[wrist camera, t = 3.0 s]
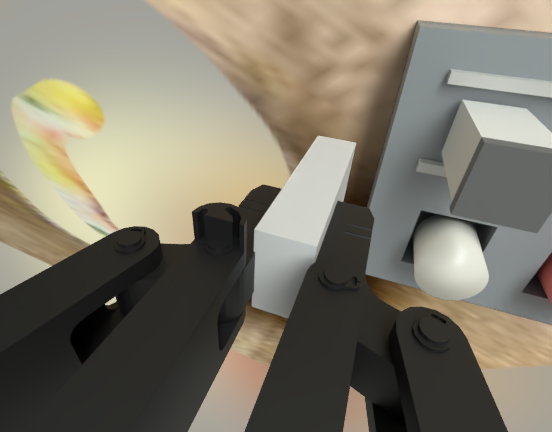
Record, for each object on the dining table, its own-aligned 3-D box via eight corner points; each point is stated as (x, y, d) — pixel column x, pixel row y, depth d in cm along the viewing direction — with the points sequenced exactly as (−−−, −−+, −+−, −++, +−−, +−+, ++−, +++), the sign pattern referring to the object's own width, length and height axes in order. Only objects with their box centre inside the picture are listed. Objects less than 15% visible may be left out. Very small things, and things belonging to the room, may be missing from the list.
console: (359, 234, 30) (350, 275, 25) (417, 20, 20) (420, 27, 15) (599, 293, 25) (639, 355, 21) (827, 58, 16) (992, 83, 11)
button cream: (406, 251, 24) (406, 289, 21) (423, 208, 22) (426, 243, 19) (463, 265, 23) (471, 307, 20) (487, 222, 21) (501, 261, 18)
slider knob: (438, 153, 19) (450, 214, 13) (460, 97, 17) (484, 142, 12) (499, 164, 18) (537, 233, 13) (529, 106, 16) (587, 159, 11)
